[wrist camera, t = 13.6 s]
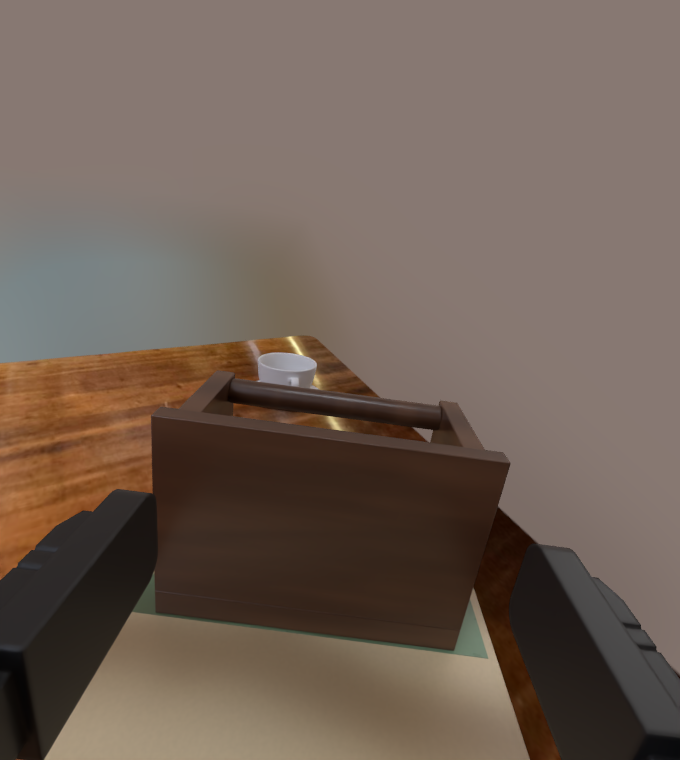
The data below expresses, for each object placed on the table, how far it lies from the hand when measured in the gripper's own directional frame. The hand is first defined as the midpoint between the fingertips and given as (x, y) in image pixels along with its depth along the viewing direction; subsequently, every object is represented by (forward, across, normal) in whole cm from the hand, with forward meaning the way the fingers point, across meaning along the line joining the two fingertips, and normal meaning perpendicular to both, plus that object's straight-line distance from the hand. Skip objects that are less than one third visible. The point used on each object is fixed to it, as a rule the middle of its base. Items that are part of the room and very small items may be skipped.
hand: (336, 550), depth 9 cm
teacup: (+43, +7, +15) cm, 46 cm away
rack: (+14, 0, +14) cm, 20 cm away
